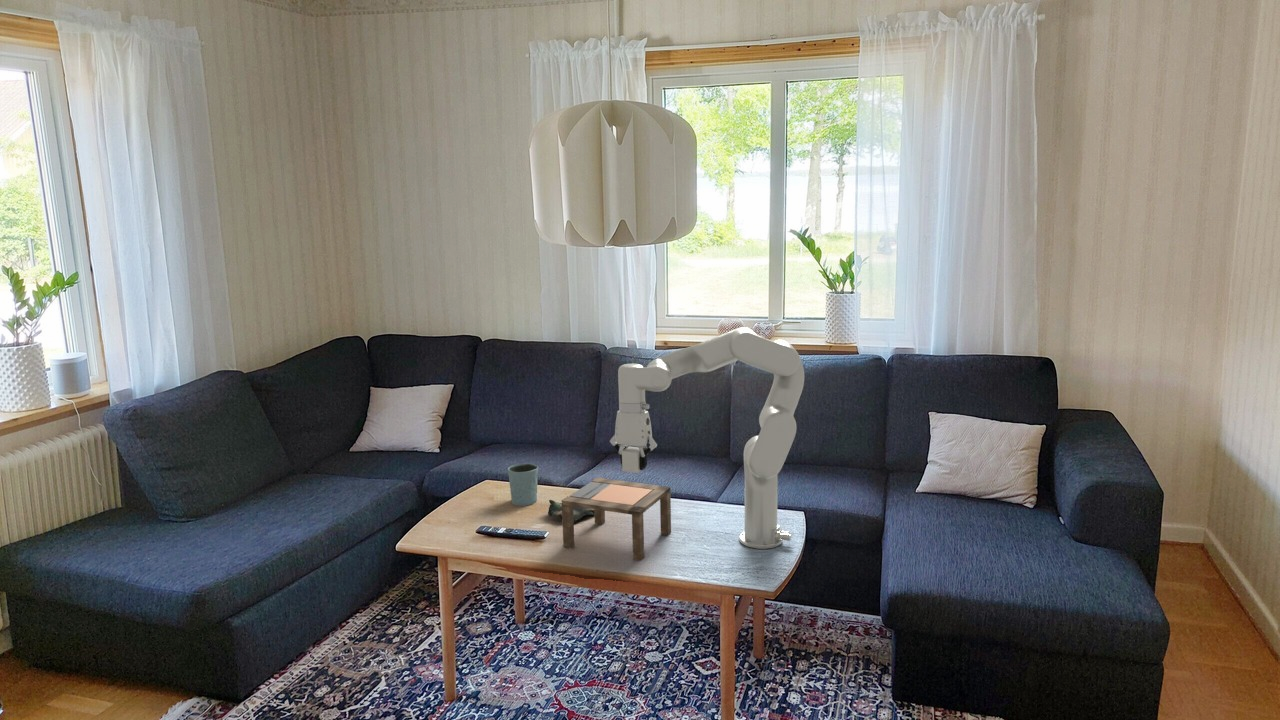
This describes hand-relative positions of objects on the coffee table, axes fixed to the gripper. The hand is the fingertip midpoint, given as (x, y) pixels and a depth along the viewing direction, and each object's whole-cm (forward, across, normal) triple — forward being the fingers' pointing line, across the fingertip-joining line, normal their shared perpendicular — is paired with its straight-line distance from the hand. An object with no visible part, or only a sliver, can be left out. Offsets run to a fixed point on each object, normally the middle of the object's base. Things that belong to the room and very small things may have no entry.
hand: (633, 467), depth 244 cm
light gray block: (+1, 0, 0) cm, 1 cm away
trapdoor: (+13, +8, 0) cm, 15 cm away
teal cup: (+24, +50, -18) cm, 58 cm away
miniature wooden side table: (+23, +6, 0) cm, 24 cm away
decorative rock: (+24, +29, -15) cm, 40 cm away
